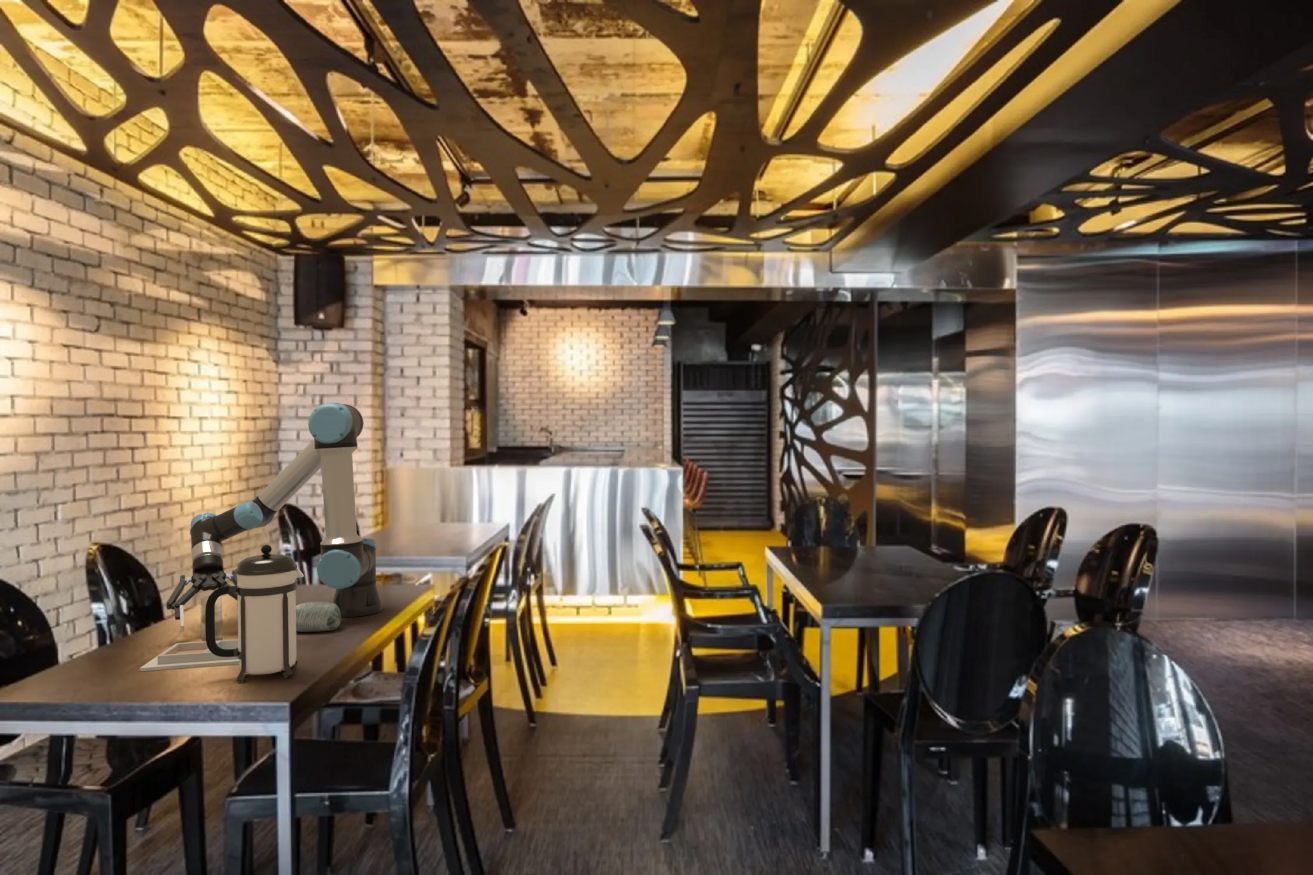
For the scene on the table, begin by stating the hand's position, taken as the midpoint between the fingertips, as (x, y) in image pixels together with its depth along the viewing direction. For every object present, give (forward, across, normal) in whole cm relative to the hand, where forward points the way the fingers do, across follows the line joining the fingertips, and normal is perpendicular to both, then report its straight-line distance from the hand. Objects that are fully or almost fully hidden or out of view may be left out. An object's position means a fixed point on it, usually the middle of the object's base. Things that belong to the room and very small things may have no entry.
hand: (212, 625), depth 208 cm
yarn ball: (+5, -25, -2) cm, 26 cm away
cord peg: (+2, 0, -5) cm, 5 cm away
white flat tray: (+14, +1, +8) cm, 16 cm away
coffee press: (+31, -8, +24) cm, 40 cm away
